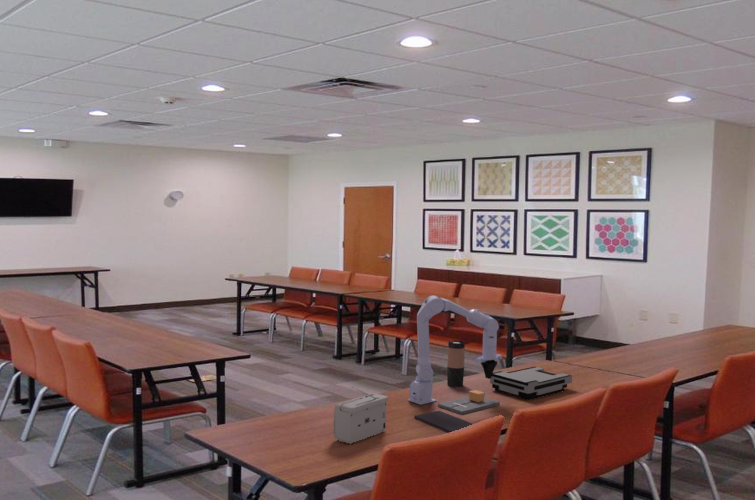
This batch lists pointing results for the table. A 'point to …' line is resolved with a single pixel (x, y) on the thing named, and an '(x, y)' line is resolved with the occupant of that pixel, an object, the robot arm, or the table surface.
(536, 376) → the game console
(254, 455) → the table surface
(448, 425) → the notebook
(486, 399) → the fader panel
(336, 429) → the stereo radio cassette player
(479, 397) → the fader knob
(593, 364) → the table surface
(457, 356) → the travel mug
